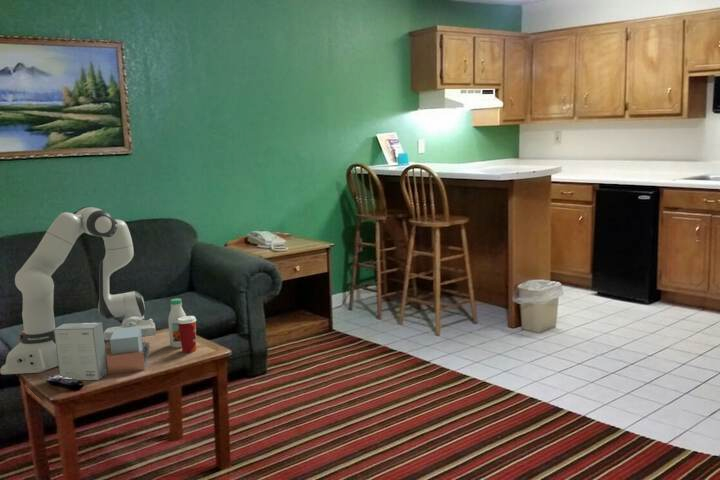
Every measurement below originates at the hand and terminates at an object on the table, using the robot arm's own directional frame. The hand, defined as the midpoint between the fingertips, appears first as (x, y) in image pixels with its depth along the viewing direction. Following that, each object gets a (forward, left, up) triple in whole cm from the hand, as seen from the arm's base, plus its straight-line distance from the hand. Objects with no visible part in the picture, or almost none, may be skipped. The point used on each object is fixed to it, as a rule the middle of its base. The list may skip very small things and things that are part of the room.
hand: (128, 337), depth 262 cm
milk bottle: (+19, +9, -9) cm, 23 cm away
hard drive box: (-15, -17, -9) cm, 24 cm away
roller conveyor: (0, -2, -8) cm, 9 cm away
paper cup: (+23, 0, -9) cm, 25 cm away
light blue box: (0, -7, -5) cm, 9 cm away
